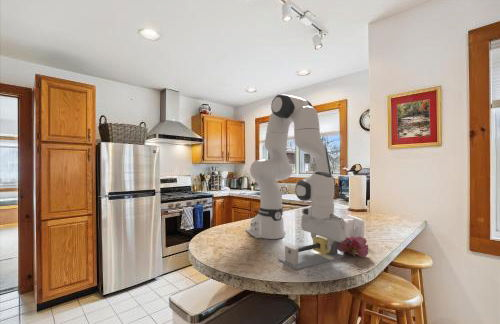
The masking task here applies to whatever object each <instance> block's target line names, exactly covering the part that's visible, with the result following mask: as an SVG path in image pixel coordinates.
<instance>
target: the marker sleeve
mask: <svg viewBox="0 0 500 324" xmlns="http://www.w3.org/2000/svg"><path fill="white" fill-rule="evenodd" d="M327 240H328V239H327V238H324V237H322V236H319V235H318V236H316V237H314V244H317V243H320V247H319V248H315V249H312V251H313V250H315V251H317V252H320V253H322V254H325V253H329V252H330V250H327V249H325V245H326V244H328V242H329V241H327Z"/></svg>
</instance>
